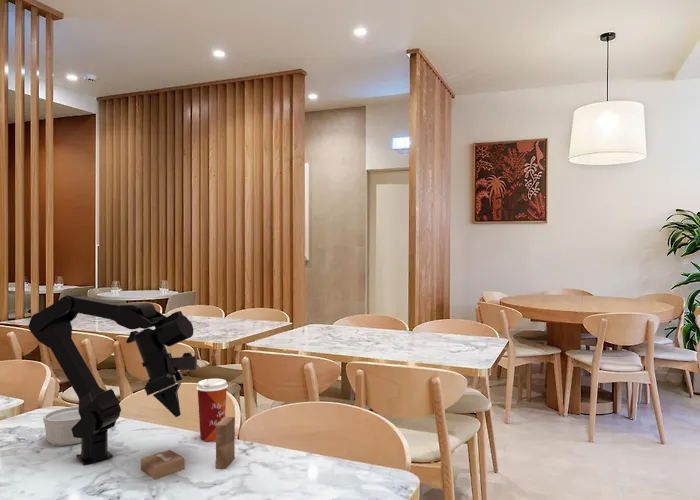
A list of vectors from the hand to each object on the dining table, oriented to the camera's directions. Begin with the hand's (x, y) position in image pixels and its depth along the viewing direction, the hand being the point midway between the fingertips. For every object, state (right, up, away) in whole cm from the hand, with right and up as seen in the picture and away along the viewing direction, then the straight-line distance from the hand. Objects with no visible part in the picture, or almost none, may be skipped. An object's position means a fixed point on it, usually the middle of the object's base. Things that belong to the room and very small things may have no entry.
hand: (178, 416), depth 115 cm
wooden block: (+11, -12, +1) cm, 16 cm away
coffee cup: (+3, -12, +18) cm, 22 cm away
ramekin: (-34, -12, +17) cm, 40 cm away
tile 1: (-3, -12, -2) cm, 12 cm away
